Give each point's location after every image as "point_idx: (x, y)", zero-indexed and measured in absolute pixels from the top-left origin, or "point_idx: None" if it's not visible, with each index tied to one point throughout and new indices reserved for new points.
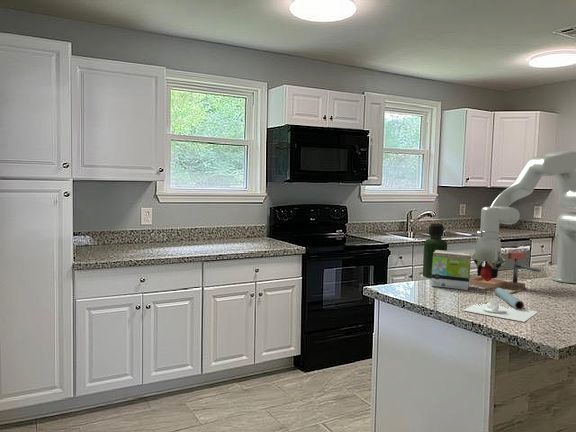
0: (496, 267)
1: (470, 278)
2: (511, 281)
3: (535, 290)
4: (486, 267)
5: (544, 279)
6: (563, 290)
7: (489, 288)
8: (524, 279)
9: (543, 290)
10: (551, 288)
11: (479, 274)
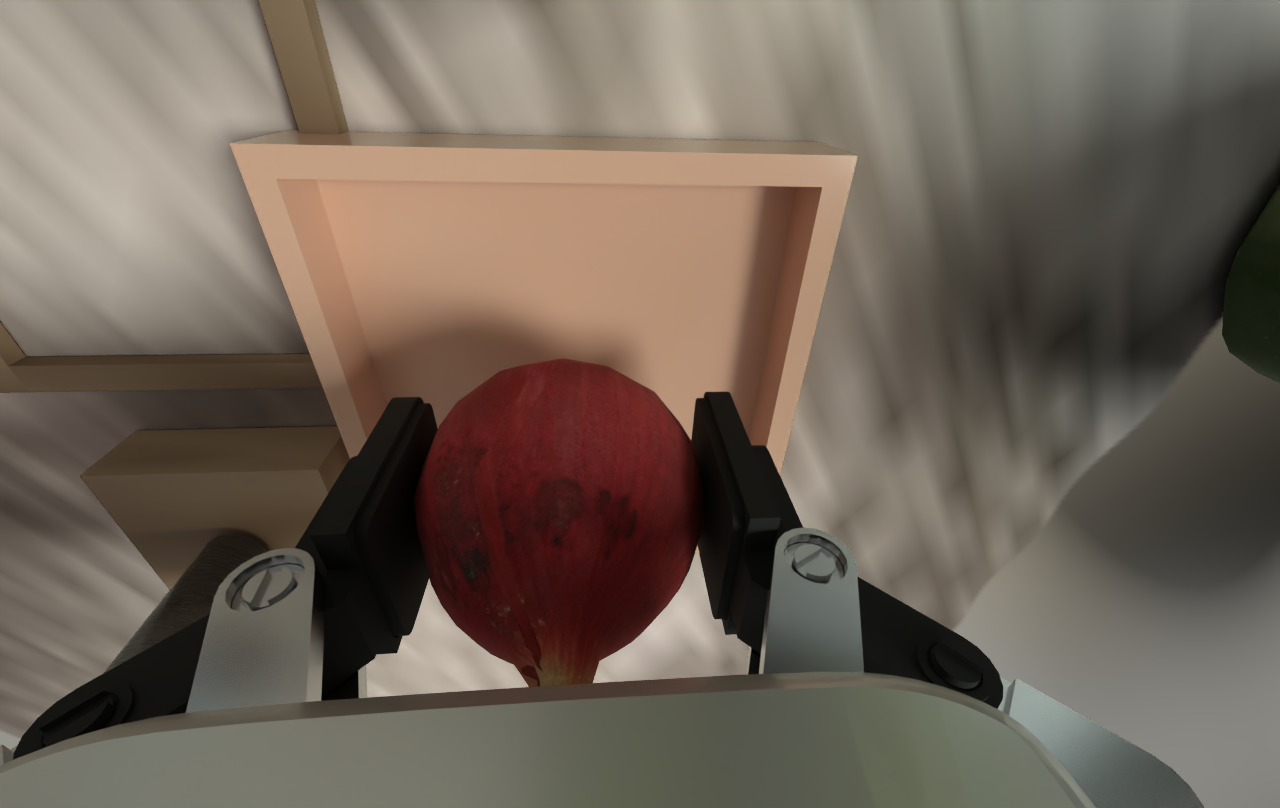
0: (224, 609)
1: (822, 295)
2: None
3: (63, 548)
4: (533, 541)
5: None
6: (42, 711)
7: (273, 31)
8: None
9: (56, 604)
10: None
11: (699, 411)
